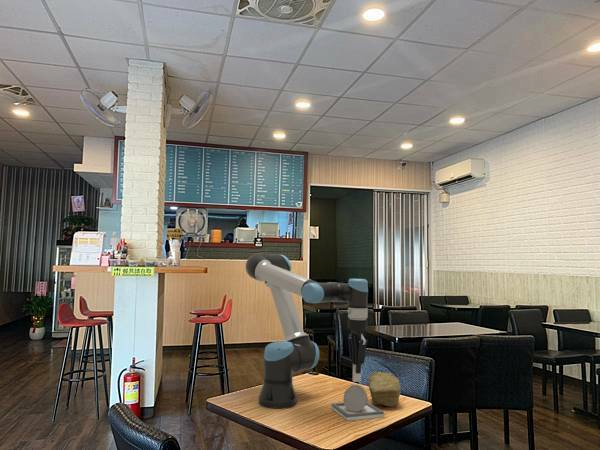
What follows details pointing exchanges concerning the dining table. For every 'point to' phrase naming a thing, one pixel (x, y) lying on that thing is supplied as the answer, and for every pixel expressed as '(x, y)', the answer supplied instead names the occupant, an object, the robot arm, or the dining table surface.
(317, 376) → the dining table surface
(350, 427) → the dining table surface
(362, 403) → the grey rounded piece
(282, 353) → the robot arm
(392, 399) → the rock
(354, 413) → the plate
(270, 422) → the dining table surface
